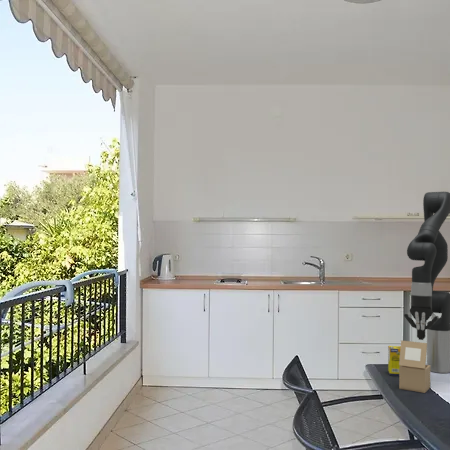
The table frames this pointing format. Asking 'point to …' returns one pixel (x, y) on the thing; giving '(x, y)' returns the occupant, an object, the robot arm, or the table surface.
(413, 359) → the flap
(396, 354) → the supplement box
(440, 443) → the table surface
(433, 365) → the robot arm
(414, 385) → the carton
